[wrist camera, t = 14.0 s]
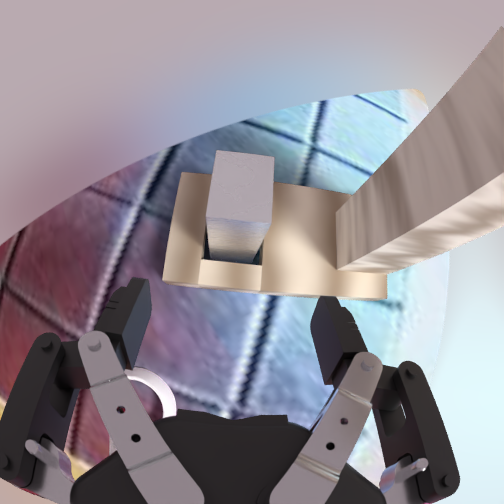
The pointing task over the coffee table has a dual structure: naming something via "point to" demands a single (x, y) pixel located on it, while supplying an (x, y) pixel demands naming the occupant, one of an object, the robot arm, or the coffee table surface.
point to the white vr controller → (157, 386)
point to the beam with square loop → (368, 206)
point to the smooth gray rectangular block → (239, 205)
